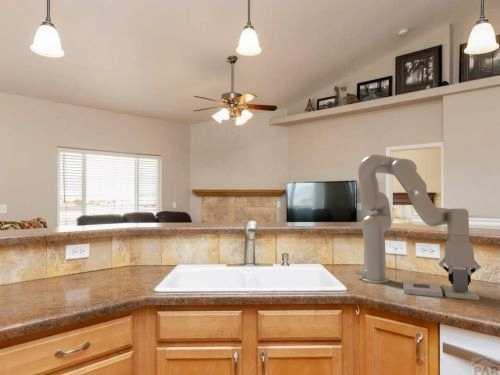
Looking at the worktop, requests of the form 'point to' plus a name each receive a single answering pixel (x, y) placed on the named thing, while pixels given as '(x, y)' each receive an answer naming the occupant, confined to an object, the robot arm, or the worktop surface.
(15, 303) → the worktop surface
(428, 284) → the socket plate
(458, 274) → the block
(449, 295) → the board
